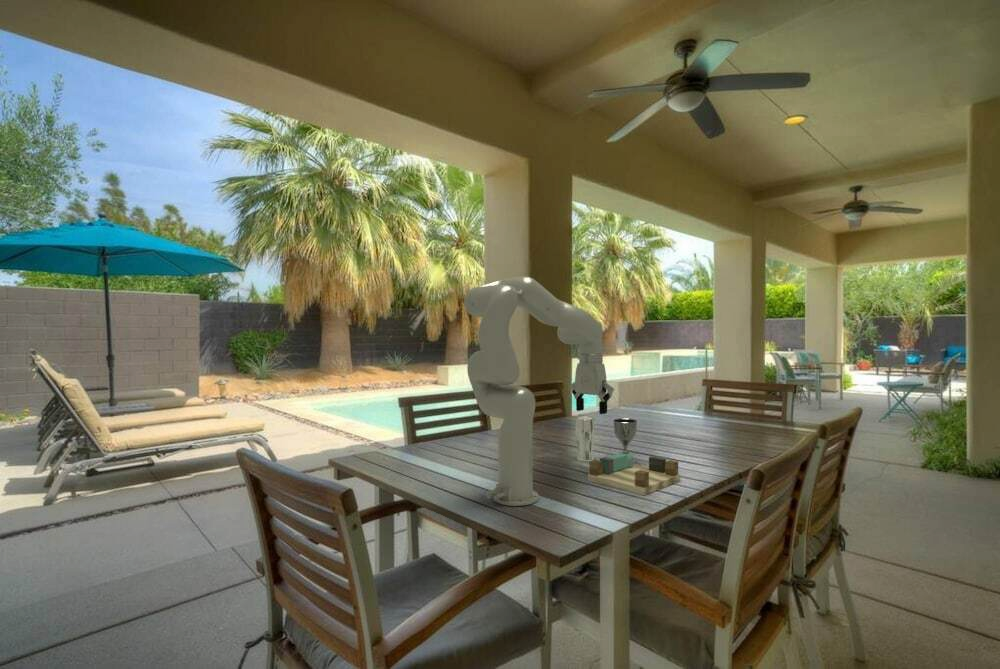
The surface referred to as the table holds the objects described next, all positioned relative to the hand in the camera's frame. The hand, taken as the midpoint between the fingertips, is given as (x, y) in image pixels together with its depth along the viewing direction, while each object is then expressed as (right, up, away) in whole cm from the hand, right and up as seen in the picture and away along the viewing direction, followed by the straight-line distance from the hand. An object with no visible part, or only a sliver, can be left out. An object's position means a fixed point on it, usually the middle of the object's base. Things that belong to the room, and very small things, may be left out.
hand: (591, 411), depth 166 cm
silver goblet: (+14, -20, +13) cm, 28 cm away
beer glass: (+1, -20, +18) cm, 27 cm away
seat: (+12, -20, -8) cm, 25 cm away
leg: (+8, -18, -2) cm, 20 cm away
